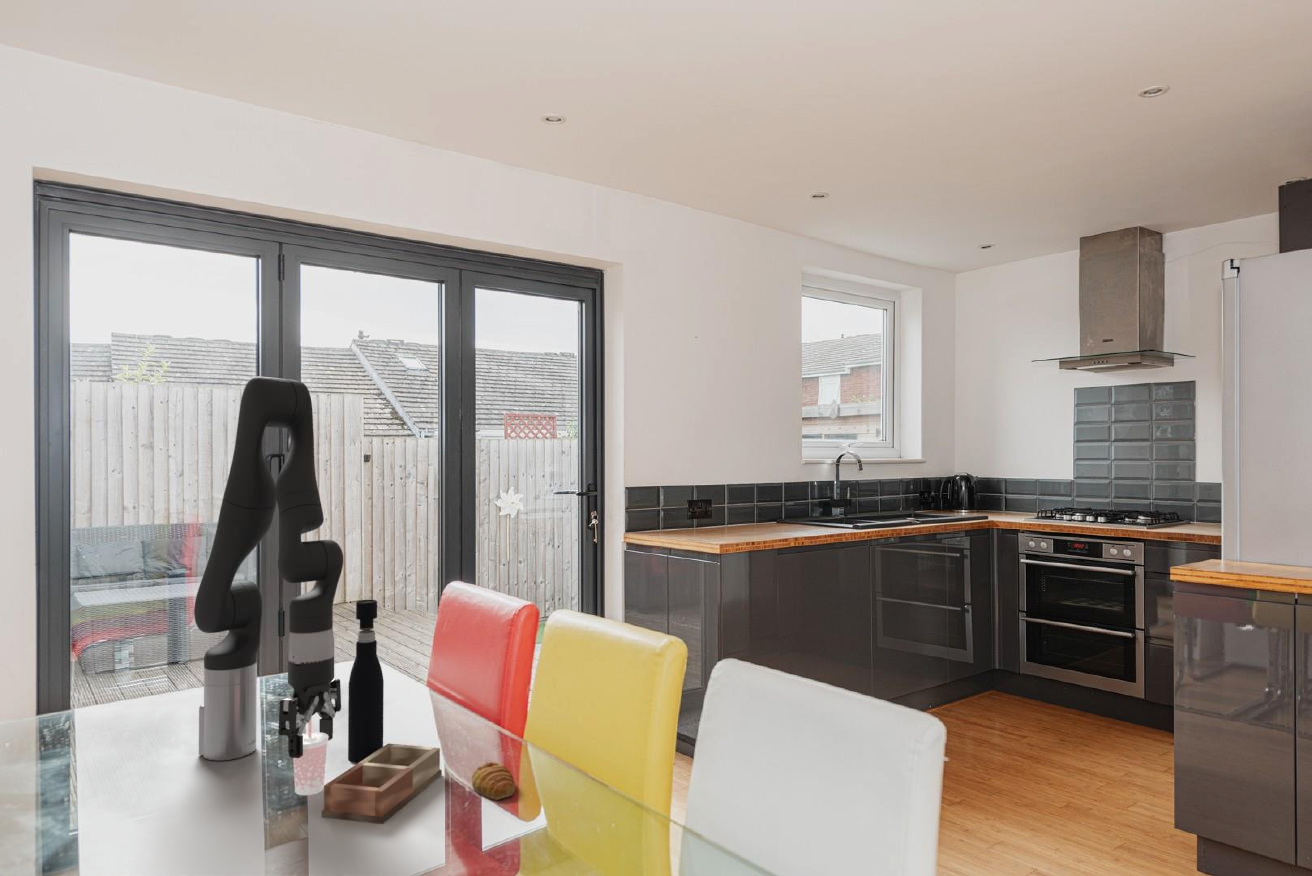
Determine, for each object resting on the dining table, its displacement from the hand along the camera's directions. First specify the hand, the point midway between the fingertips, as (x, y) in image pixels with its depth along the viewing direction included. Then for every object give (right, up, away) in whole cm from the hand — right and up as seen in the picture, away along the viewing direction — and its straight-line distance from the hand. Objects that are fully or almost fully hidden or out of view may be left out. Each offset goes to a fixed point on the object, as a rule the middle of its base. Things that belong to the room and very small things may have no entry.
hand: (311, 748), depth 145 cm
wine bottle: (+4, -8, +15) cm, 18 cm away
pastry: (+32, -8, +1) cm, 33 cm away
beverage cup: (0, -7, 0) cm, 7 cm away
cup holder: (+14, -7, -2) cm, 16 cm away
